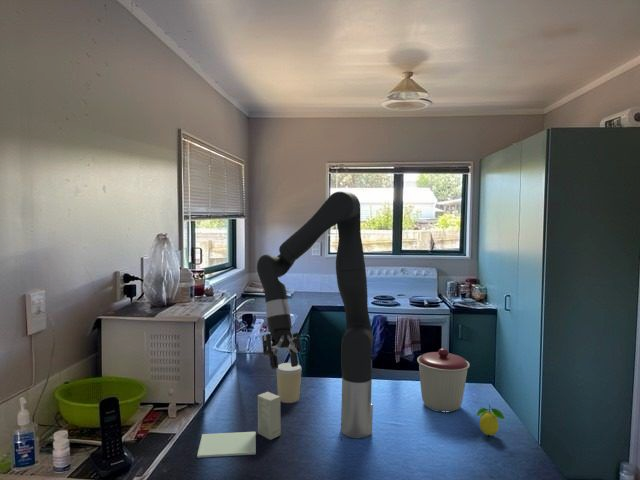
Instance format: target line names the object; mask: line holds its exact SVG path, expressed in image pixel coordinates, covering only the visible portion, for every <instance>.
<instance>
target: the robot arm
mask: <svg viewBox="0 0 640 480" xmlns="http://www.w3.org/2000/svg"><path fill="white" fill-rule="evenodd" d="M334 226H336V227H337V231H338V232H337V234H338V243H337V250H336V257H335V273H336V275H335V276H336V283H337V287H338V291H339V295H340V298H341V300H342V303H343V307H344V312H345V326H346V327H345V333H344V334H343V336H342V339H341V345H340V346H341V348H340V349H341V350H340V358H341V359H340V367H341V375H342V377H341V403H340V404H341V406H340V409H341V410H340V432H341V434H342V435H343V436H345V437H347V438H351V439H362V438H367V437H369V436H373V417H374V415H373V412H374V411H373V410H374V406H373V403H372V385H373V384H372V383H373V382H372V379H373V369H372V351H373V350H372V348H373V345H374V334H373V333H374V332H373V329H372V324H371V319H370V315H369V306H368V304H369V303H368V279H367V270H366V263H365V262H366V261H365V255H364V248H363V247H364V246H363V241H362V235H361V234H362V233H361V203H360V200H359V198H358V197H357V196H356V195H355V194H354V193H352V192H349V191H343V190H341V191H339V190H338V191H336V192H333V193H332V194H331V195H330V196H329V197H328V198H327V199H326V200H325V201H324V203H323V204H322V205H321V206H320V208H318V210H317V211H316V212H315V213H314V214H313V216H312V217H310V218H309V219H308V220H307V221H306V223H304V224H303V225H302V226H301V227H300V228H299V229H297V230H296V231H295V232H294V233H293V234H292V235H291V236H289V237H288V238H286V240H285V241H283V243H281V245H280V246H279V248H278V252H279V254H278V255H271V254H263V255H261V256H260V257H259V259H258V260H257V263H256V271H257V275H258V277H259V281H260V283H261V286H262V288H263V290H264V291H263V292H264V299H265V313H266V314H265V315H266V322H267V324H266V325H267V330H268V332H269V333H266V334H263V335H262V337H261V339H262V349H263V350H262V351H263V355H264V356H268V357H269V363H270V368H271V369H272V370H276V369H277V368H278V365H279V363H278V355H277V353H278V352H279V350H280V349H285V350H286V351H287V352H288V353H289V358H290V363H291V366H292V367H295V366H298V364H299V360H298V353H300V352H301V351H302V346H301V339H300V335H299V332H295V333H292V332H291V331H292V327H293V325H292V319H291V312H290V306H289V301H288V295H287V288H286V285H285V284H284V283H282V282H281V281H280V280H279V278H281V277H283V276H284V275H286V274H287V273H288V272H289V270H290V269H291V268H292V266H293V265H294V263H295V262H296V260H298V259H299V258H300V257H302V256H303V255H305V253H307V251H309V250H310V249H311V248H312V247H313V245H315V243H316V242H317V241H318V240H319V238H320V237H321V236H322V235H323V234H324V233H325V232H327V231H328V230H329V229H331V228H333V227H334Z"/></svg>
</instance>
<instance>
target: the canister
mask: <svg viewBox="0 0 640 480" xmlns="http://www.w3.org/2000/svg"><path fill="white" fill-rule="evenodd" d="M416 360H417V363H418V369H419V381H420V392H421V400H422V402H423V403H424V405H425V406H426V407H427V408H428V407H429V408H428V409H430V408H431V409H430V410H432V409H433V410H432V411H435V410H437V411H436V412H439V411H445V412H444V413H447V412H446V411H454V412H456V411H458V410H459V409H460V408H461V406H462V404H463V399H464V395H465V394H464V393H465V387H466V381H467V375H468V369H469V368H470V366H471V365H470V362H469V361H467V360H466V358H464V357H462V356H461V355H457V354H453V353H449V350H448V349H447V348H444V347H442V348H439V349H438V351H430V352H426V353H423V354H421V355H419V356H418V357H417V359H416ZM457 409H458V410H457ZM455 410H456V411H455Z"/></svg>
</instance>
